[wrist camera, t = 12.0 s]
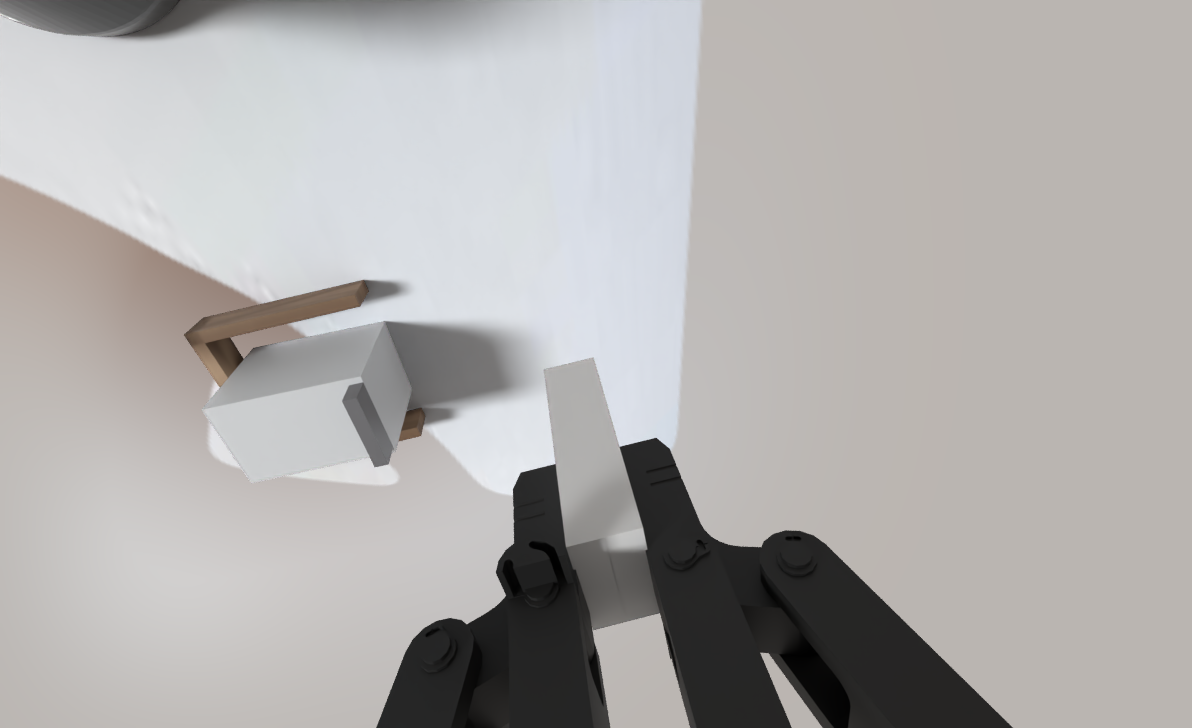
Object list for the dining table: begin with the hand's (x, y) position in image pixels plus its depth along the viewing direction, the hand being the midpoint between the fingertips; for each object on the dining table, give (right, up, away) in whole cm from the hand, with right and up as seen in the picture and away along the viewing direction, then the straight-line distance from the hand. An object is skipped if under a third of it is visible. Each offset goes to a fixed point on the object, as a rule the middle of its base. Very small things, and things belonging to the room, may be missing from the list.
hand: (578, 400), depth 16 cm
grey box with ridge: (-22, +1, +30) cm, 38 cm away
